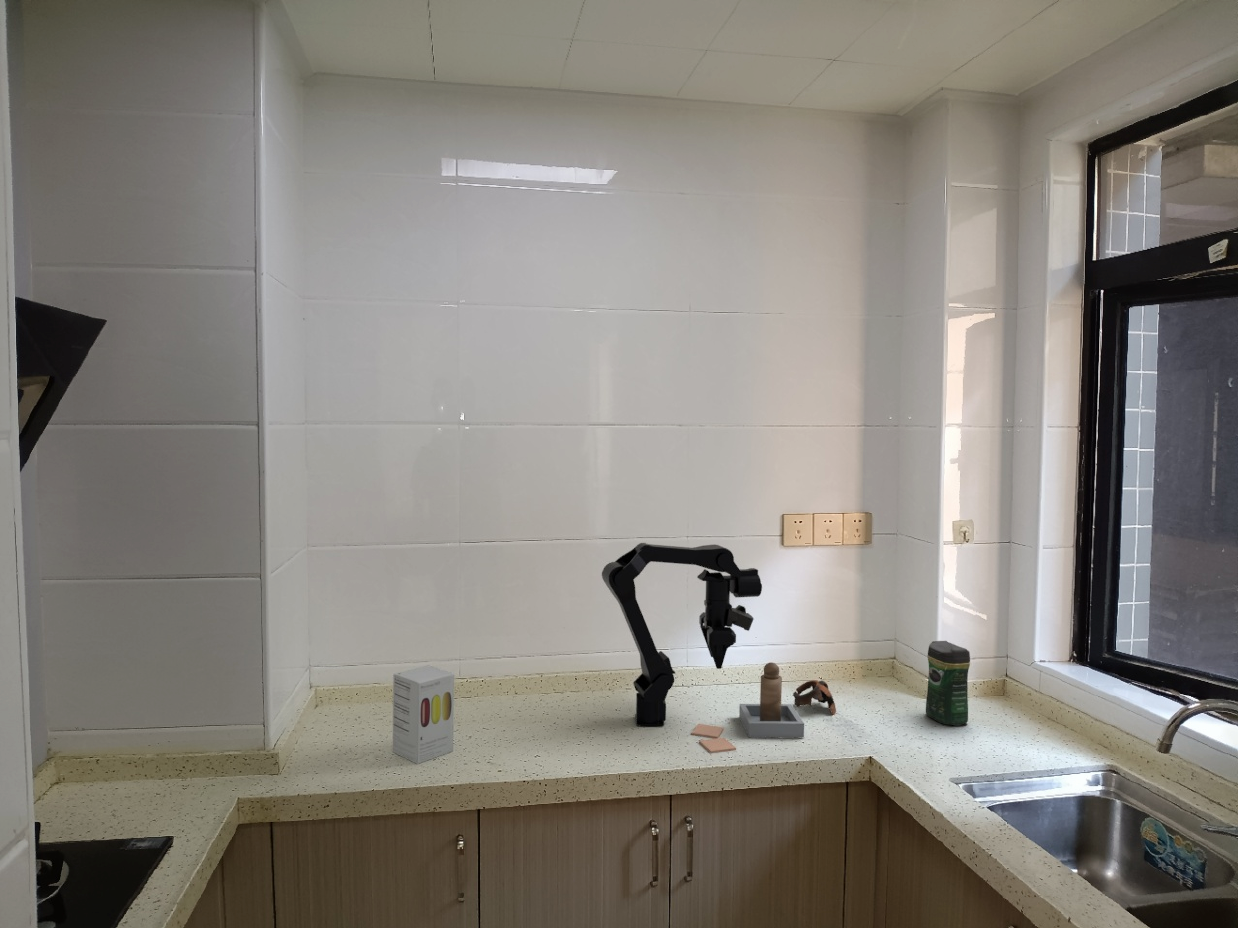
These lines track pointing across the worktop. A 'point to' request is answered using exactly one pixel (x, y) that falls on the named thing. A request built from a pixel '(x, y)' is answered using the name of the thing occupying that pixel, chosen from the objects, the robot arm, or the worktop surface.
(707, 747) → the tile
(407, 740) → the supplement box
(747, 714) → the tray
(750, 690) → the worktop surface
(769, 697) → the pepper mill
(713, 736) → the tile
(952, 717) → the coffee jar
